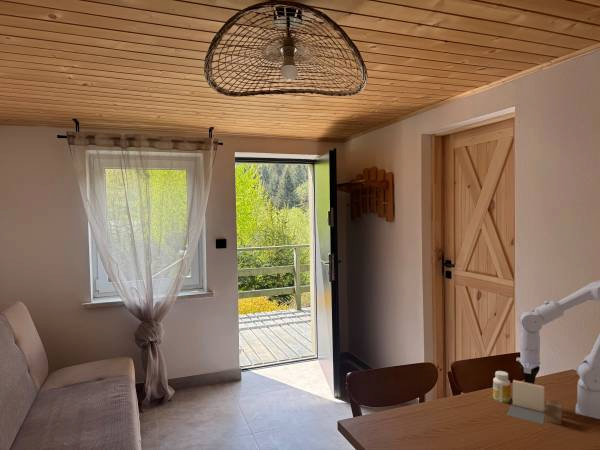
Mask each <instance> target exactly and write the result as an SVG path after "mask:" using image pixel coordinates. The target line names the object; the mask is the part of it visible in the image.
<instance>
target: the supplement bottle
mask: <svg viewBox="0 0 600 450" xmlns="http://www.w3.org/2000/svg"><path fill="white" fill-rule="evenodd" d="M494 376H495V377H493V379H492V381H493V382H492V398H493V400H495V401H497V402H500V403H510V402H511V381H510V380H509V373H508V372H507V371H503V370H497V371H495V373H494Z"/></svg>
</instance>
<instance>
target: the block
mask: <svg viewBox="0 0 600 450" xmlns="http://www.w3.org/2000/svg"><path fill="white" fill-rule="evenodd" d="M562 403H563V402H560V401H556V400H551V399H546V402H545V407H546V412H545V422H547V423H551V424H554V425H559V426H562V416H563V414H562V411H563V409H562V407H563V405H562Z"/></svg>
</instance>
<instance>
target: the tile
mask: <svg viewBox="0 0 600 450" xmlns="http://www.w3.org/2000/svg"><path fill="white" fill-rule="evenodd" d="M512 400H513V405H517V406H521V407H525V408H529V409H533V410H538V411H542V412H544V407H545V386H544V385H540V384H536V383H534V384H531V383H527V382H525V381H522V380H521V381H520V380H516V379H512Z"/></svg>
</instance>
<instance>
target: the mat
mask: <svg viewBox="0 0 600 450" xmlns="http://www.w3.org/2000/svg"><path fill="white" fill-rule="evenodd" d="M506 415H507V416H509V417H512V418H516V419H521V420H523V421H524V420H525V421H529V422H531V423H535V424H540V425H544V422H545V418H546V406H544V412H542V411H538V410H533V409H529V408H525V407H521V406H517V405H513V399H512V400H511V403H510V405H509V408H508V411H507V413H506Z"/></svg>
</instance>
